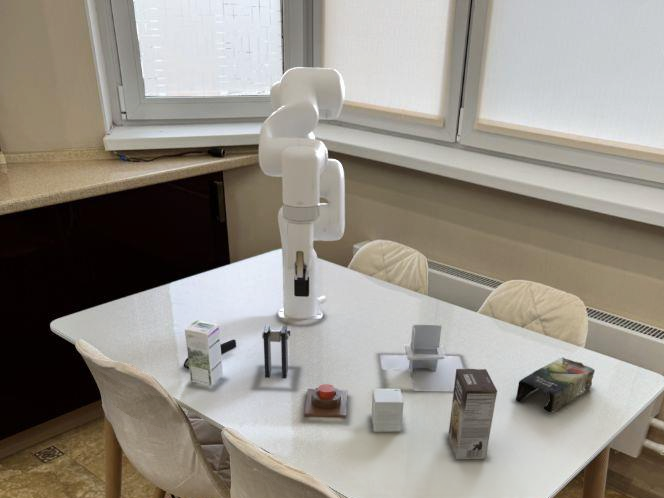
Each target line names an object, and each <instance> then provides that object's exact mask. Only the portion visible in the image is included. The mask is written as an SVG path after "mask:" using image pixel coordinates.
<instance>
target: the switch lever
mask: <svg viewBox="0 0 664 498" xmlns="http://www.w3.org/2000/svg"><path fill="white" fill-rule="evenodd" d="M281 331H282V329H279V330H278V329H270V343H281ZM287 334H289V337H291V330H287Z"/></svg>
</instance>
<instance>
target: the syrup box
mask: <svg viewBox="0 0 664 498" xmlns="http://www.w3.org/2000/svg"><path fill="white" fill-rule="evenodd" d="M184 332H185V333H184V334H185V341H186V342H185V343H186V351H187V358H188V361H189V370H188V371H189V378H190V382H193V383H197V384H201V385H206V386H211V387H212V386H214V385H215V384H216V383H217V382H218V381H219V380H220V379H222V377H224V371H223V362H222V359H223V358H222V355H221V346H220V344H221V333H220V325H219V324H218V323H213V322H208V321H202V320H195V321H194V322H192V323H191V324H189V325H188V326H187V327H186V328H184Z"/></svg>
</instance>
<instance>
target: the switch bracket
mask: <svg viewBox="0 0 664 498" xmlns="http://www.w3.org/2000/svg"><path fill="white" fill-rule="evenodd" d="M270 330H271V325H270V324H265V325H264V330H263V332H262V333H261V339H262V340H263V359H264V360H263V362H264V378H266V379H269V378H270V376H271V373H272V349H271V347H272V346H271V342H270ZM281 330H282V331H281V341H280V349H281V350H280V353H281V378H282V379H287V377H288V372H289V355H288V350H289V349H288V348H289V347H288V340H289V339H290V338H289V337H290V336H289V334H287V331H288V325H282V328H281Z"/></svg>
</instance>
